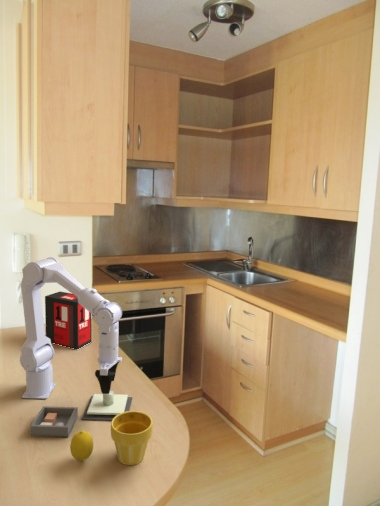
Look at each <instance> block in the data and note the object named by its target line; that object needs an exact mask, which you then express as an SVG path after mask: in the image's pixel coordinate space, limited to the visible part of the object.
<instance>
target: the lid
mask: <svg viewBox="0 0 380 506" xmlns="http://www.w3.org/2000/svg"><path fill="white" fill-rule="evenodd" d="M92 396H93V398H92V401H91V403H90V406H89V408H88V411H87V414H100V415H118V414H120V413H123V412H124V411H125V407H126V402H127V398H128V397H129V394H119V393H117V394H116V393H115V392H114V391H113V390H111V389H110V392H109V394H102V393H94V394H93V395H92Z"/></svg>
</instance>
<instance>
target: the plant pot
mask: <svg viewBox="0 0 380 506" xmlns="http://www.w3.org/2000/svg"><path fill="white" fill-rule="evenodd" d="M110 422H111V423H110V437H111V440H112V441H114V446H115V451H116V455H117V459H118V461H119V462H120V463H121V464H123V465H125V466H133V465H139V464H140V463H141V462H142V461H143V460H144V457H145V455H146V449H147V448H148V442H149V441H150V439H151V438H152V434H153V425H154V424H153V423H154V421H153V418H152V417H151V415H149V414H148V413H146V412H143V411H140V410H138V411H137V410H129V411H126V412H123V413H120V414H118V415H117V416H115V417H114V418H113V420H112V421H110Z"/></svg>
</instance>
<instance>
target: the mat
mask: <svg viewBox="0 0 380 506" xmlns="http://www.w3.org/2000/svg"><path fill="white" fill-rule="evenodd" d="M93 396H94V395H91V396H90V399H89V401H88V403H87V406H86V408H85V409H84V413H83V414H82V417H81V421H101V422H102V421H105V422H112V420H113V418H114V417H115V416H117V415H100V414H87V411H88V408H89V406H90V403H91V401H92V398H93ZM132 402H133V397H132V396H128V398H127V402H126V407H125V411H124V412H126V411H131V410H130V409H131V404H132Z"/></svg>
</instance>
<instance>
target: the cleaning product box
mask: <svg viewBox="0 0 380 506" xmlns="http://www.w3.org/2000/svg"><path fill="white" fill-rule="evenodd" d="M44 308H45V309H44V310H45V311H44V314H45V318H44V319H45V336H46V337H48V338H49V339H50V340H51V343H55V344H59V345H62V346H61V347H63V346H66V347H65V348H67V347H70V348H69V349H71V348H74V349H73V350H75V349H79V348H81V347H83V346H84V345H86V344H88V343H90V342H91V343H92V314H91V313H90V312H89V311H88V310H86V309H85V308H84V307H83V306H81V305H80V304H79V303H78V297H77V296H75V295H74V294H72V293H71V292H66V291H57V292H54V293H51V294H48V295H45V296H44ZM91 343H90V344H91ZM55 344H54V345H55ZM59 345H58V346H59ZM88 345H89V344H88ZM86 346H87V345H86ZM83 348H84V347H83ZM81 349H82V348H81ZM79 350H80V349H79Z"/></svg>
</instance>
